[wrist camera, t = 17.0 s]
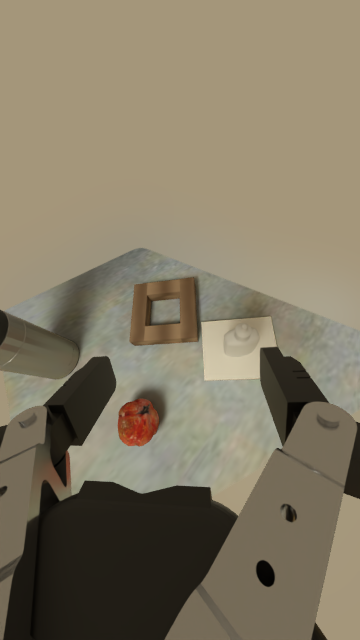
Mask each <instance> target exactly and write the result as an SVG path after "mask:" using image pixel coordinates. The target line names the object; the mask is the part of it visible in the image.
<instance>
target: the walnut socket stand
mask: <svg viewBox="0 0 360 640" xmlns="http://www.w3.org/2000/svg"><path fill="white" fill-rule="evenodd" d="M177 298H180V323H179V324H167V325H155V326H150V312H151V301H158V300H168V299H177ZM184 342H198V331H197V310H196V289H195V281H194V278H185V279H177V280H169V281H161V282H152V283H144V284H136V285H134V297H133V308H132V319H131V331H130V343H132V344H133V345H135V346H139V345H154V344H169V343H184Z"/></svg>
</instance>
